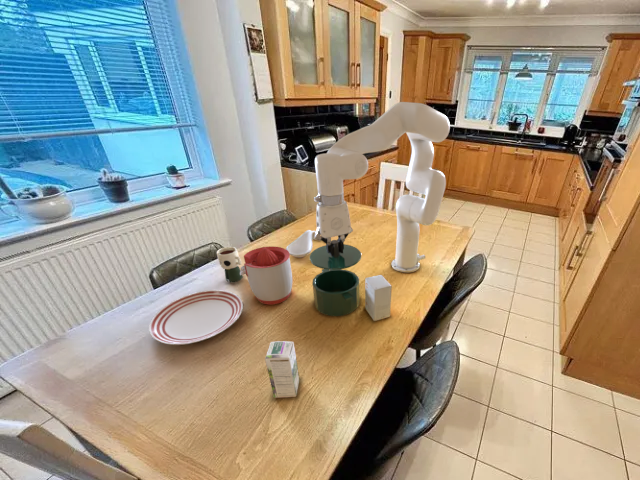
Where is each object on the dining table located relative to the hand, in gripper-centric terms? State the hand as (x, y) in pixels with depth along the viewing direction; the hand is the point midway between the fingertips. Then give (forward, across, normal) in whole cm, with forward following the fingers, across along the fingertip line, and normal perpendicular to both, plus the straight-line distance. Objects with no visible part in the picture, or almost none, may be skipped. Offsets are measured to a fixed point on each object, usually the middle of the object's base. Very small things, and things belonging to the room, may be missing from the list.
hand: (335, 252), depth 102 cm
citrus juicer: (+20, -21, +15) cm, 33 cm away
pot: (+20, -1, 0) cm, 20 cm away
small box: (+21, +9, -13) cm, 26 cm away
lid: (+2, 0, 0) cm, 2 cm away
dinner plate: (+20, -45, +12) cm, 50 cm away
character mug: (+20, -31, +34) cm, 50 cm away
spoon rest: (+21, +3, +47) cm, 51 cm away
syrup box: (+20, -28, -29) cm, 45 cm away
